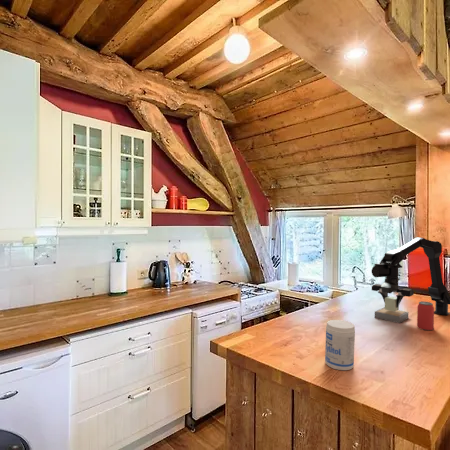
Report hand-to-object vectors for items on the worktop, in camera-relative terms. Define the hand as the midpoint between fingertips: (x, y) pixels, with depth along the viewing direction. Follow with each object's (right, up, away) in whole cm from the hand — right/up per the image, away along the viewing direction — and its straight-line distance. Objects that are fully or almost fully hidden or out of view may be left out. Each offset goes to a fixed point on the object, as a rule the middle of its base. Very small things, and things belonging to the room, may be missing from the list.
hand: (391, 306), depth 168 cm
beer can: (+8, -7, -16) cm, 19 cm away
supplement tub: (-46, -7, -54) cm, 71 cm away
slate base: (0, -6, 0) cm, 6 cm away
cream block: (0, -2, 0) cm, 2 cm away
